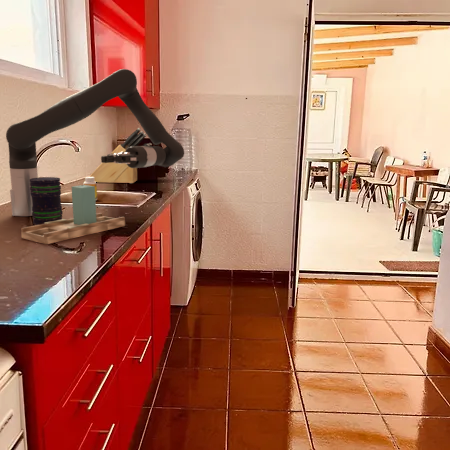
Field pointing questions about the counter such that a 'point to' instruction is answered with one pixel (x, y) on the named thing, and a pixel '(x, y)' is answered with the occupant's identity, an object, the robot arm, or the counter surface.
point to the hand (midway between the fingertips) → (102, 159)
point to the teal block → (84, 204)
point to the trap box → (69, 229)
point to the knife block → (120, 171)
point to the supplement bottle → (91, 184)
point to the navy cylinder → (46, 199)
